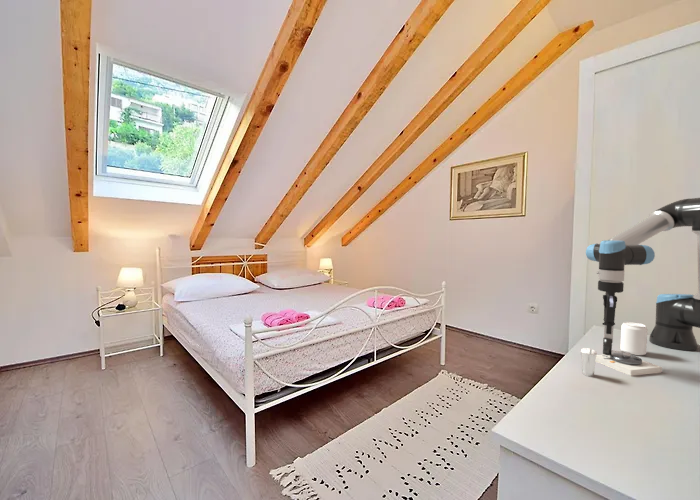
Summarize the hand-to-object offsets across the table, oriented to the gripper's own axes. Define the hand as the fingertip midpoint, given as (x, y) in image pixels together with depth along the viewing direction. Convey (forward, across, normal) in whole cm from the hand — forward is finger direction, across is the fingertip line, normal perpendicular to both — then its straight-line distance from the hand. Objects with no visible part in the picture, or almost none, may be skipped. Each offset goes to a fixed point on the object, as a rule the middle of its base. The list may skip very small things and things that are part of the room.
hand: (608, 341), depth 122 cm
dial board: (+8, +1, +5) cm, 10 cm away
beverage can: (+9, -19, +10) cm, 23 cm away
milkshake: (+8, +19, -7) cm, 22 cm away
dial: (+6, +1, +4) cm, 7 cm away
